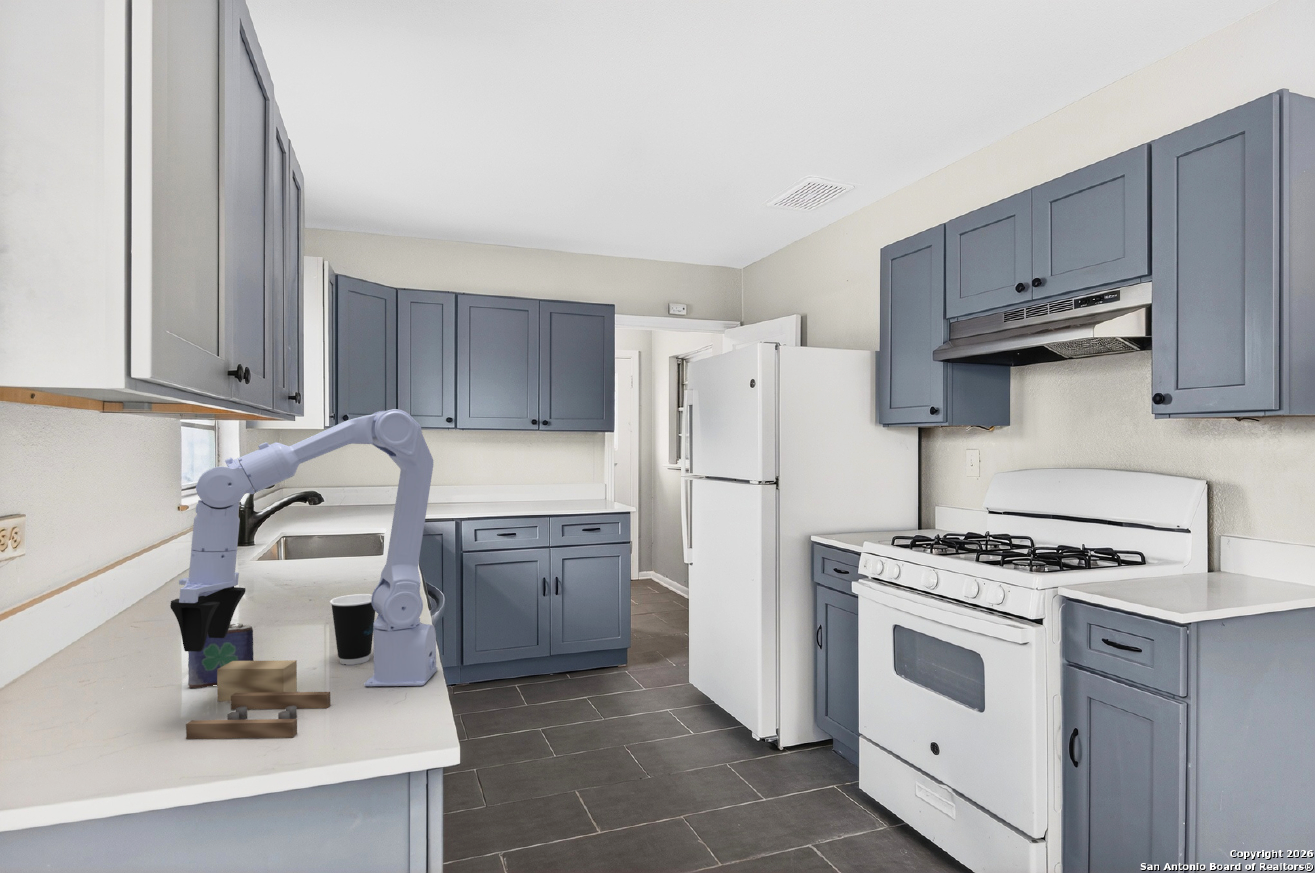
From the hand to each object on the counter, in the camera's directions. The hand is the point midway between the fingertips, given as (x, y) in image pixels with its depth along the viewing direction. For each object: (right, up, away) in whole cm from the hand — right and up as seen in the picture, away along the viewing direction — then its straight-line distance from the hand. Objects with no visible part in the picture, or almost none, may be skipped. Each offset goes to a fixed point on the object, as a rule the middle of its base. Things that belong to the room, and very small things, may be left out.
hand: (205, 643), depth 104 cm
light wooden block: (+4, -10, +7) cm, 13 cm away
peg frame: (+10, -10, -3) cm, 14 cm away
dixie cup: (+11, -10, +24) cm, 29 cm away
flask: (-5, -10, +13) cm, 17 cm away
